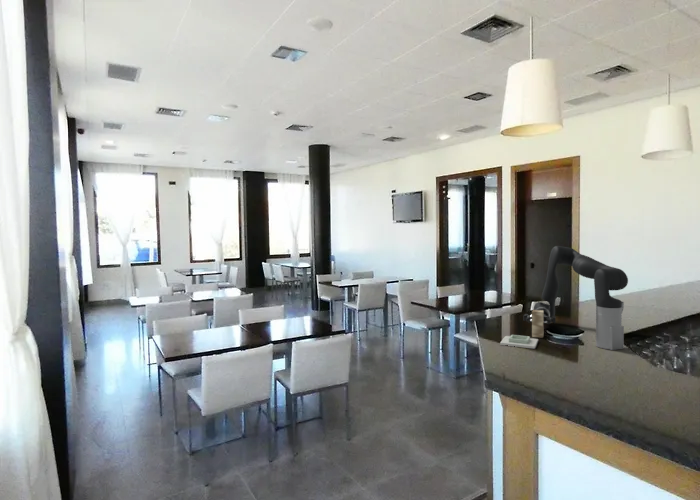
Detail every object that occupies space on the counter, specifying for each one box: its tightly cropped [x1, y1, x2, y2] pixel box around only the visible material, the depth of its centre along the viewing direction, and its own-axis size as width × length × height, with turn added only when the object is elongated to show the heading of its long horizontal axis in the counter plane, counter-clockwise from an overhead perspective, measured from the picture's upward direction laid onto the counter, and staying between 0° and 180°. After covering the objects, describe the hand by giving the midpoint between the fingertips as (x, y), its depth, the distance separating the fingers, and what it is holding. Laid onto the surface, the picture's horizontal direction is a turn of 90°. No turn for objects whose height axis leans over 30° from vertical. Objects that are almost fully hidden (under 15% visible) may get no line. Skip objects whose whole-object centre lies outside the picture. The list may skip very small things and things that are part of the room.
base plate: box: [499, 334, 539, 350], centre depth 188 cm, size 14×14×2 cm
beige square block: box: [531, 309, 545, 339], centre depth 199 cm, size 5×5×12 cm
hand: (538, 321), depth 200 cm, fingers open, 8 cm apart
